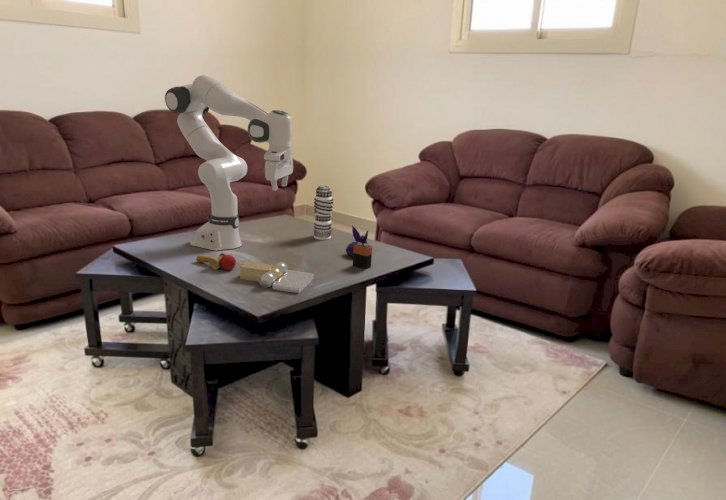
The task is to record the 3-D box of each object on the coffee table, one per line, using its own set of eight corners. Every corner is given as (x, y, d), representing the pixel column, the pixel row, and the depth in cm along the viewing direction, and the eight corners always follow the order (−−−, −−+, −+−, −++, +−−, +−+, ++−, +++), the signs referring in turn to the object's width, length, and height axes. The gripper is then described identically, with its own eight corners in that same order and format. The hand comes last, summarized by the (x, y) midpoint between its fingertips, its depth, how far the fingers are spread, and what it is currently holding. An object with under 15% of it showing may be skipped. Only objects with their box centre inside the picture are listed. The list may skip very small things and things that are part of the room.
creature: (375, 250, 240) (377, 224, 236) (358, 261, 224) (360, 233, 220) (357, 247, 243) (359, 221, 240) (340, 257, 228) (341, 230, 224)
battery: (365, 269, 215) (367, 246, 212) (352, 265, 218) (353, 242, 215) (371, 266, 218) (372, 243, 215) (357, 263, 222) (359, 240, 219)
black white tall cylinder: (331, 240, 251) (333, 189, 243) (312, 239, 250) (313, 188, 243) (332, 235, 259) (334, 185, 252) (313, 234, 259) (315, 184, 251)
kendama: (191, 268, 208) (227, 271, 200) (191, 252, 208) (226, 255, 200) (205, 266, 215) (240, 269, 207) (205, 251, 215) (240, 253, 207)
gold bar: (277, 284, 194) (277, 271, 192) (240, 278, 197) (240, 266, 195) (283, 279, 199) (283, 266, 198) (247, 273, 203) (247, 261, 201)
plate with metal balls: (299, 293, 187) (299, 280, 185) (258, 287, 190) (258, 274, 189) (313, 278, 202) (314, 266, 200) (276, 272, 205) (276, 260, 204)
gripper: (282, 149, 215) (282, 183, 220) (261, 155, 196) (261, 191, 201) (297, 151, 214) (296, 184, 218) (277, 157, 195) (277, 193, 199)
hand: (279, 188), depth 209 cm, fingers open, 8 cm apart
